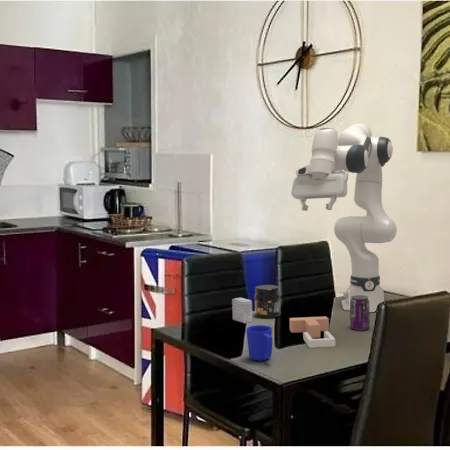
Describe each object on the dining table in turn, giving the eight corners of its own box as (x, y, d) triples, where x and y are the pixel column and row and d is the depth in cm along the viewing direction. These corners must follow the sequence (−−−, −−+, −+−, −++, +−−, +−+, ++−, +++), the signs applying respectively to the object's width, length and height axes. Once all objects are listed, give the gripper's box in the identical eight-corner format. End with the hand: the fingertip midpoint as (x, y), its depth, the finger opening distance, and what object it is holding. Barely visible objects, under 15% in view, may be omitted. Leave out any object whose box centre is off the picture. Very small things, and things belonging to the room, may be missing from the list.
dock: (303, 339, 232) (303, 332, 232) (328, 337, 233) (328, 331, 232) (309, 347, 221) (309, 340, 221) (335, 346, 222) (335, 339, 222)
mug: (259, 367, 202) (258, 336, 201) (242, 357, 213) (242, 327, 212) (282, 363, 205) (282, 332, 204) (265, 353, 216) (264, 324, 215)
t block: (289, 329, 245) (289, 318, 245) (326, 328, 246) (326, 316, 246) (295, 338, 233) (295, 326, 233) (334, 336, 234) (334, 324, 234)
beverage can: (369, 331, 240) (369, 299, 239) (350, 330, 241) (349, 298, 240) (369, 326, 247) (369, 295, 246) (350, 325, 248) (350, 294, 247)
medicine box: (252, 321, 259) (252, 300, 258) (243, 323, 256) (243, 302, 255) (241, 318, 265) (240, 297, 264) (232, 319, 263) (231, 298, 262)
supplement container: (249, 316, 268) (248, 287, 267) (268, 311, 275) (267, 283, 274) (266, 320, 260) (266, 290, 259) (286, 315, 267) (285, 287, 265)
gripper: (352, 173, 223) (348, 211, 220) (300, 176, 235) (295, 213, 232) (344, 166, 218) (339, 206, 215) (292, 170, 230) (286, 208, 227)
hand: (316, 209), depth 224 cm, fingers open, 8 cm apart
